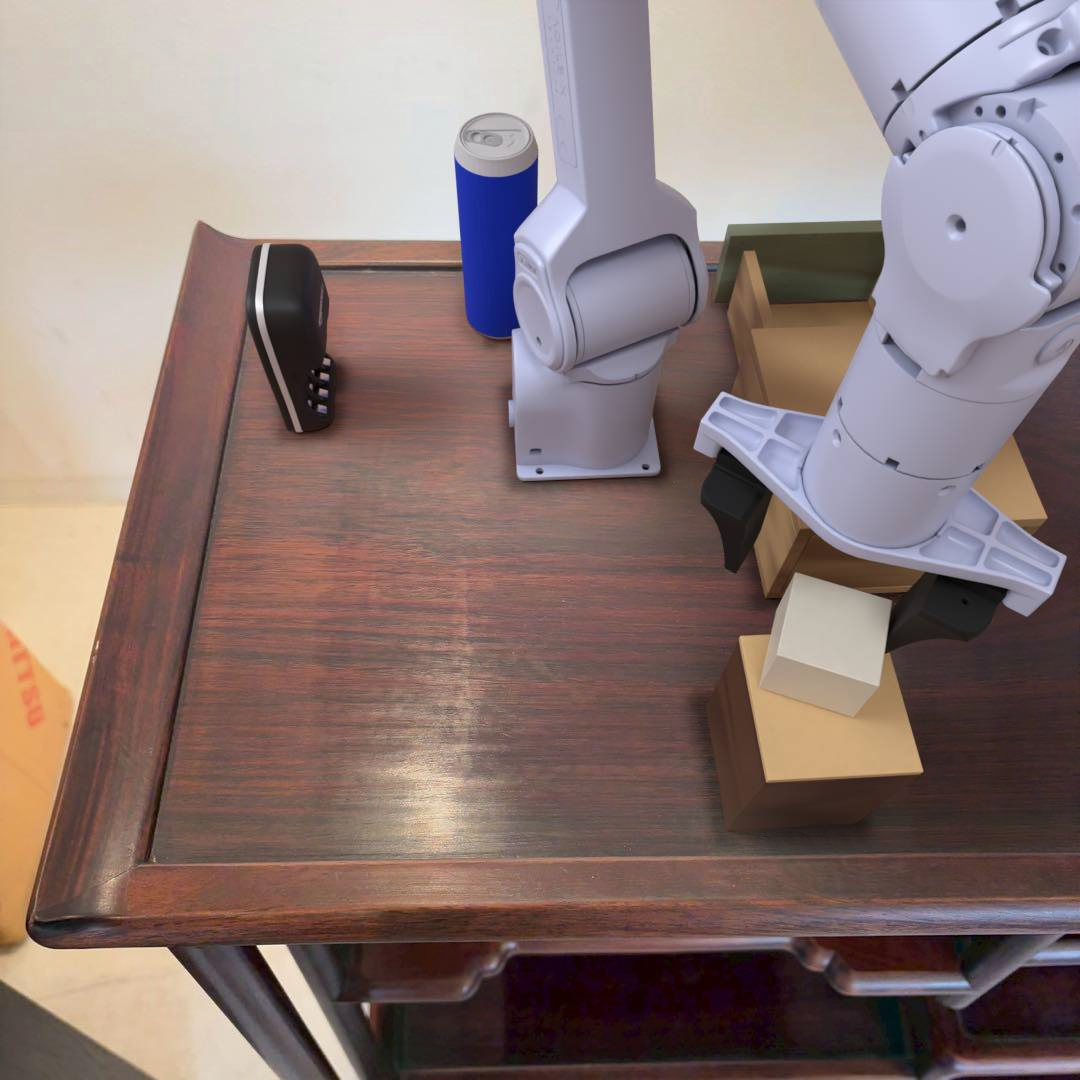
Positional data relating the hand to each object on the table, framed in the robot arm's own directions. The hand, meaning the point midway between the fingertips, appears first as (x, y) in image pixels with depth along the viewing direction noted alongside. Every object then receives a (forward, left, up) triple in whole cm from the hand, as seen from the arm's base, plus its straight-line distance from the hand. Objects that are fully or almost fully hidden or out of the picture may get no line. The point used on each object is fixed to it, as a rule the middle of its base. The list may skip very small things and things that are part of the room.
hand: (810, 594), depth 43 cm
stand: (0, -5, -10) cm, 12 cm away
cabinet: (+8, +12, -10) cm, 18 cm away
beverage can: (-14, +29, -11) cm, 34 cm away
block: (0, -3, -1) cm, 3 cm away
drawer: (+8, +24, -10) cm, 27 cm away
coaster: (0, -5, -1) cm, 5 cm away
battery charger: (-27, +22, -11) cm, 37 cm away
